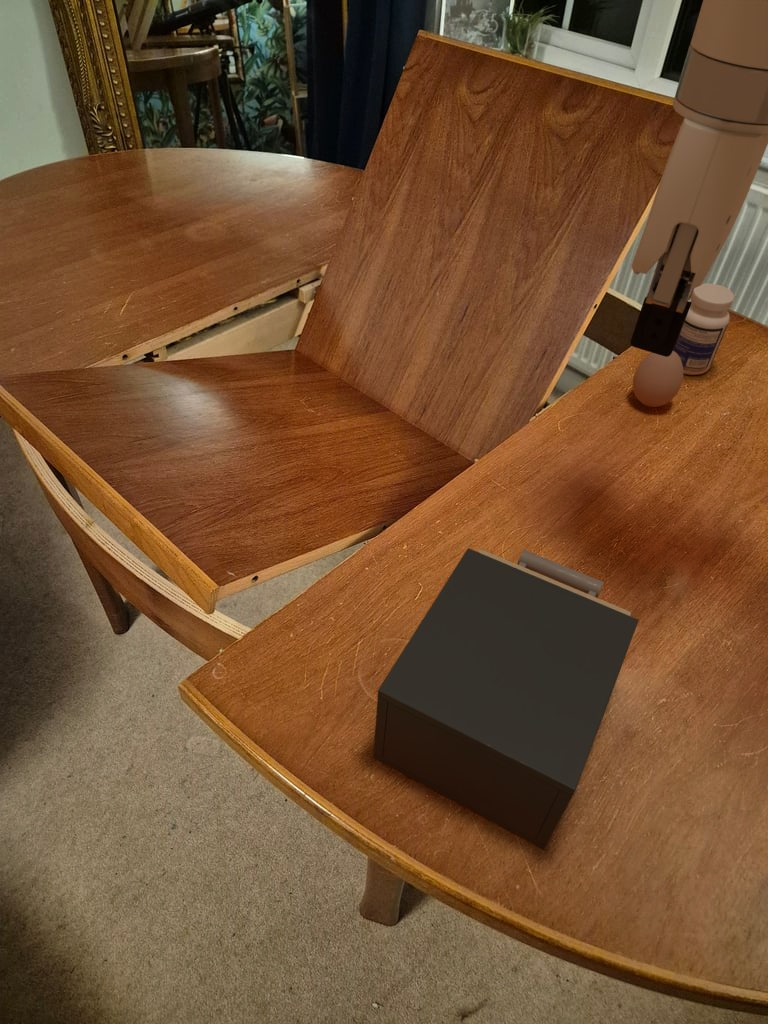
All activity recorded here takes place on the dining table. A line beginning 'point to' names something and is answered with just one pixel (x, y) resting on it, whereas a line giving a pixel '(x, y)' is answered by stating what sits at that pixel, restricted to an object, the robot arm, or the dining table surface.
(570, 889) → the dining table surface
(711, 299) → the pill bottle
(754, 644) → the dining table surface
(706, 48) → the robot arm
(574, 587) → the drawer
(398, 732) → the cabinet
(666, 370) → the egg
